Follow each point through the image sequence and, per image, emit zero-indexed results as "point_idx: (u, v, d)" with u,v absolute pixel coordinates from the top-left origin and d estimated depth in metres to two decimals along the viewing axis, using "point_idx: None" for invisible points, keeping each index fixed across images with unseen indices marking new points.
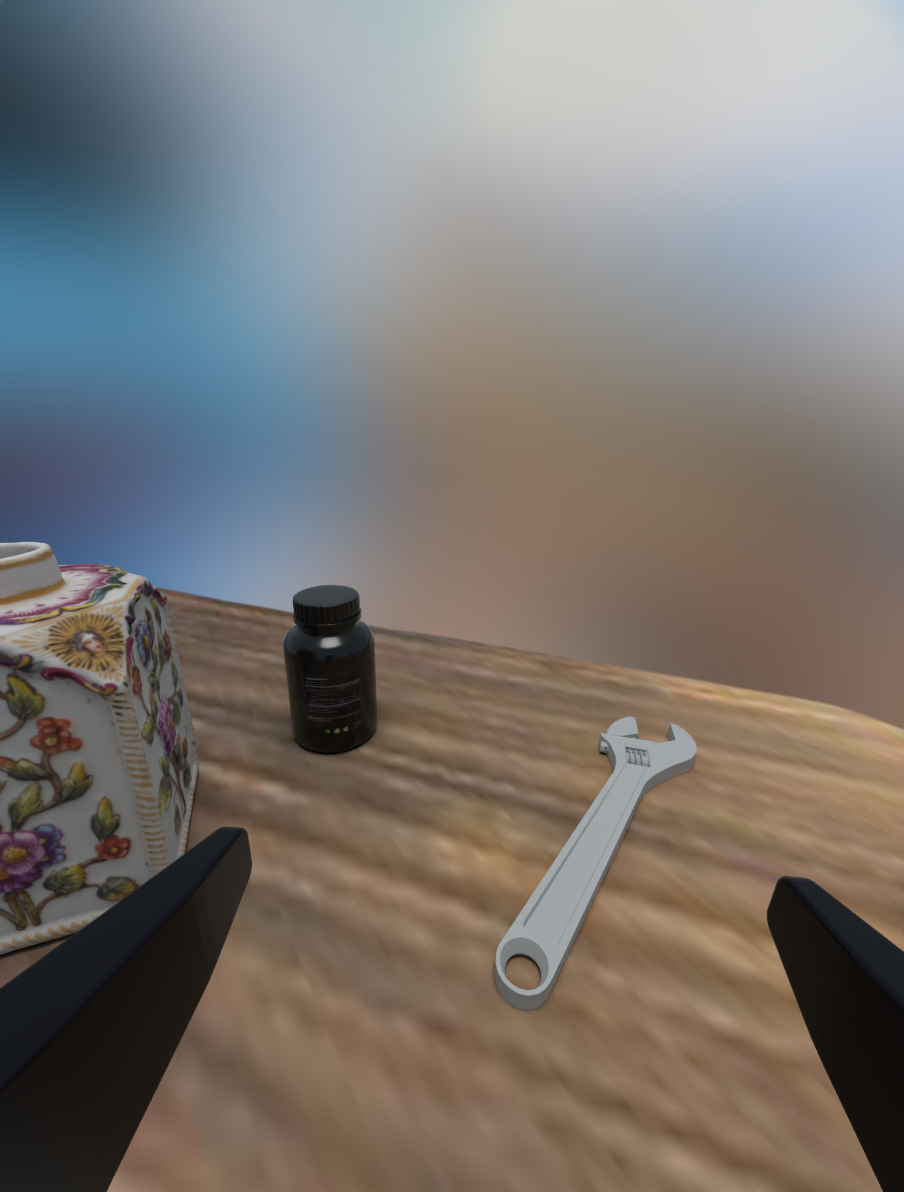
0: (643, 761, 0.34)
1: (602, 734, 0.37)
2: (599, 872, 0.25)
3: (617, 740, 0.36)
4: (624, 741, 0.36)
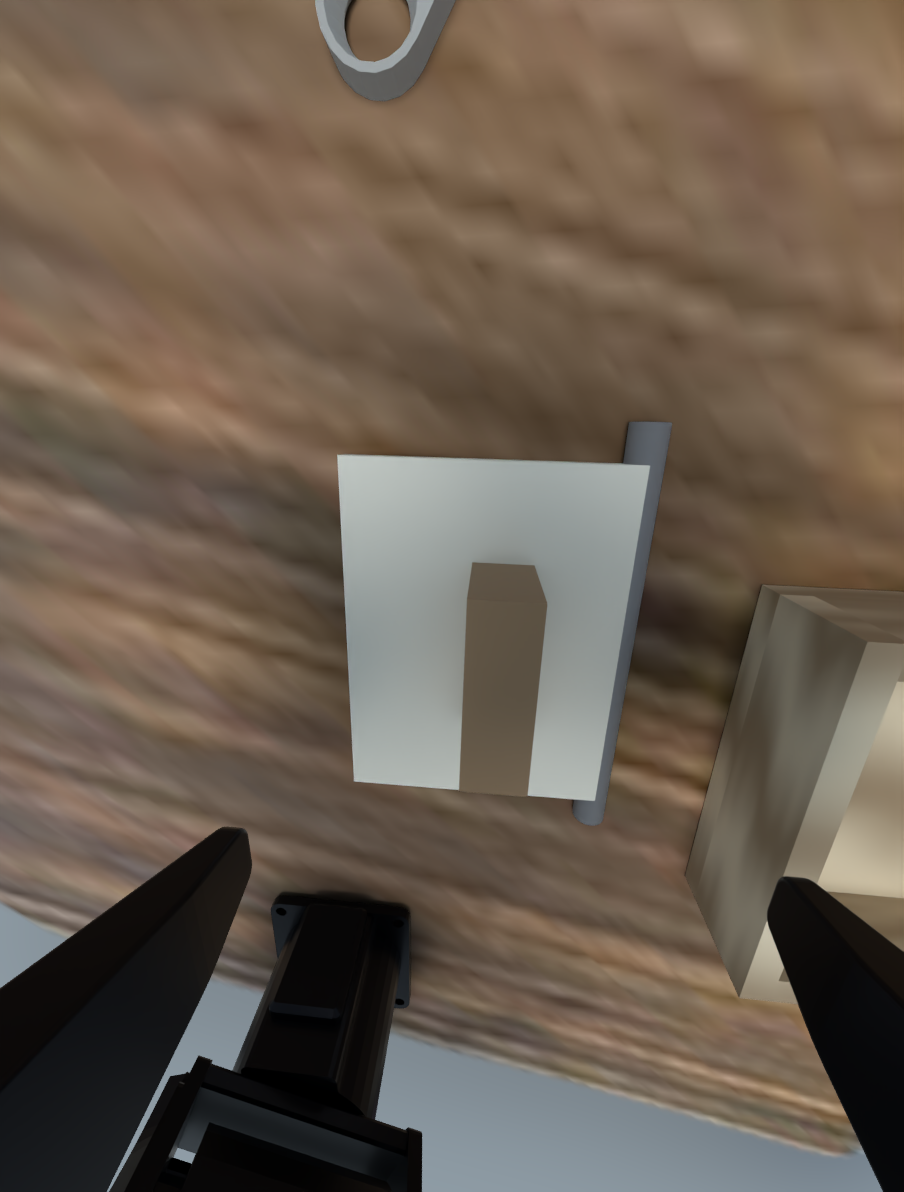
0: None
1: None
2: None
3: None
4: None
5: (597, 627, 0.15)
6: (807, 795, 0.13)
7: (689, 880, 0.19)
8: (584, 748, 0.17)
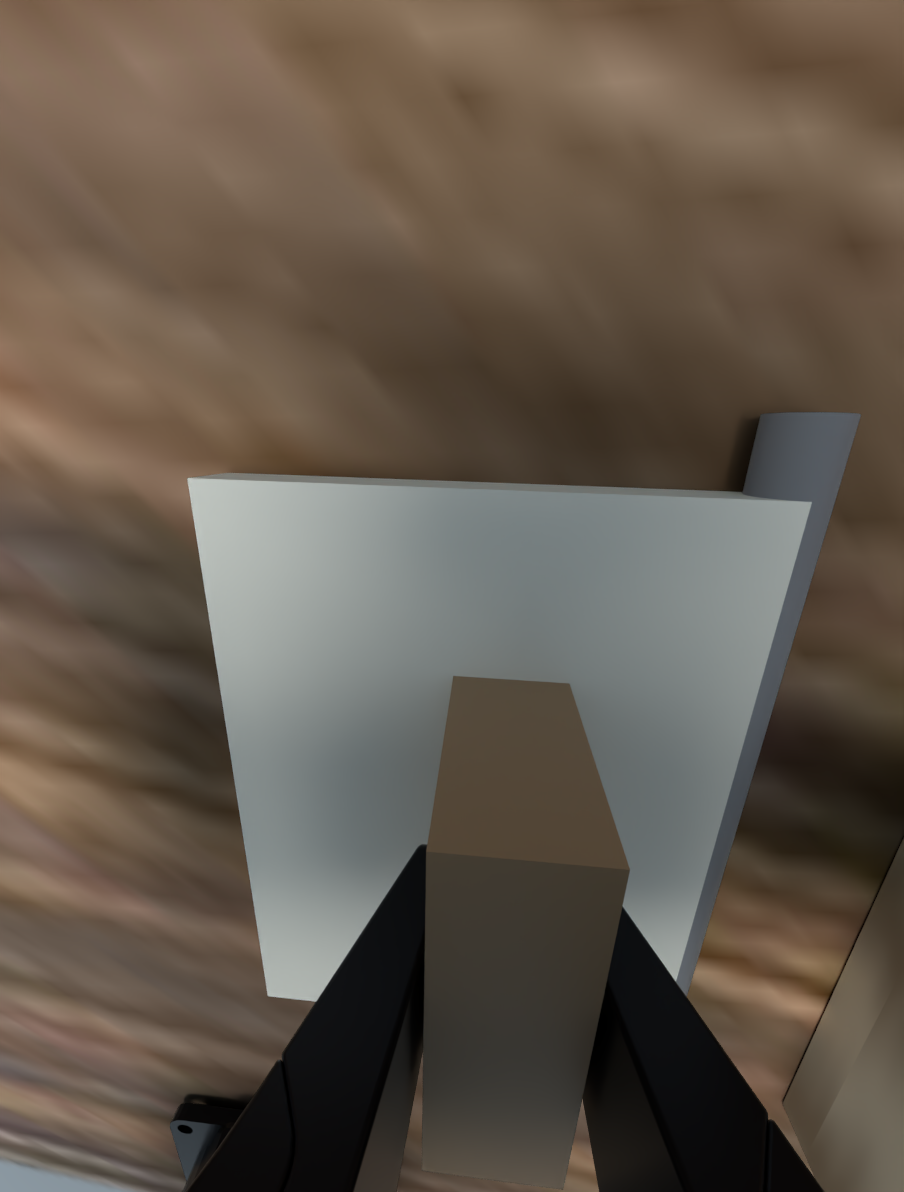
0: None
1: None
2: None
3: None
4: None
5: (681, 789, 0.08)
6: None
7: (792, 1118, 0.12)
8: None
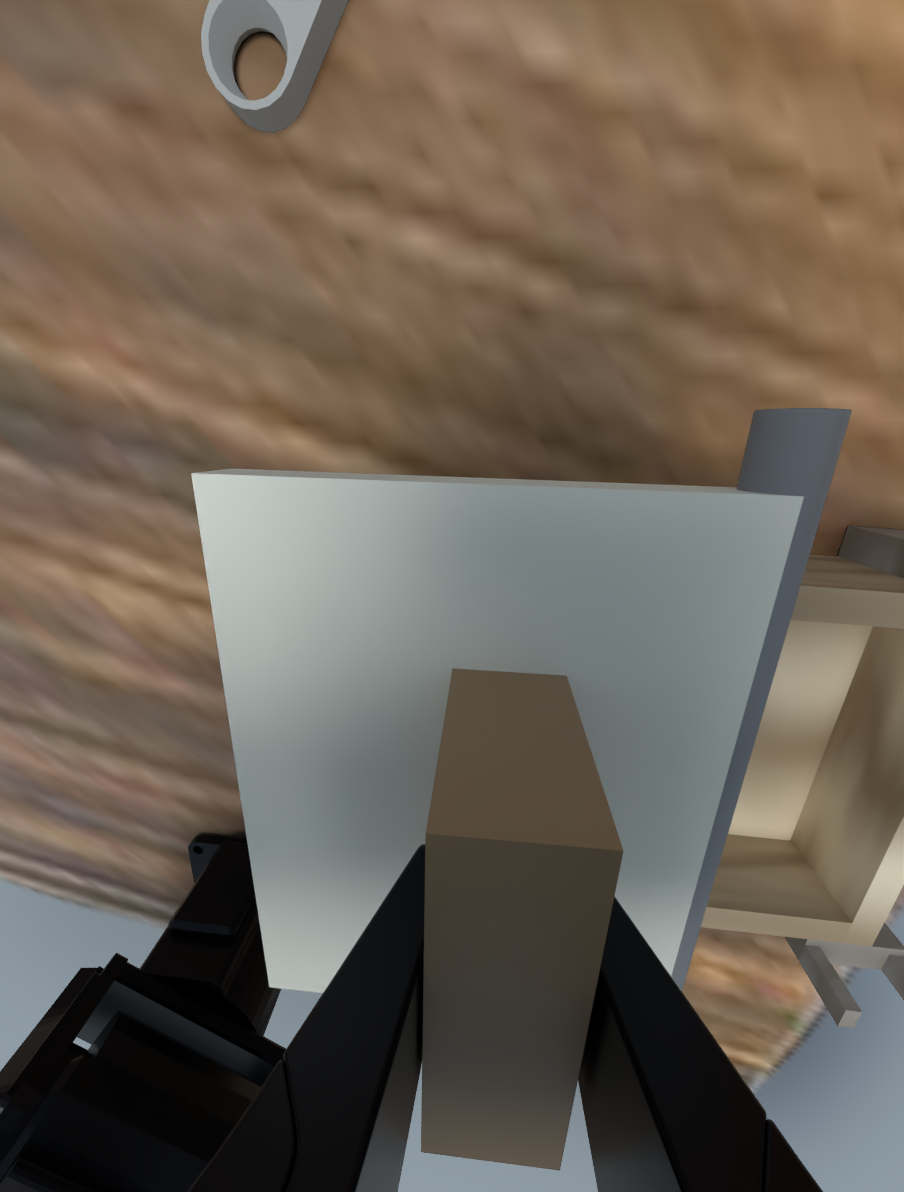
0: None
1: None
2: None
3: None
4: None
5: (678, 781, 0.09)
6: None
7: None
8: None
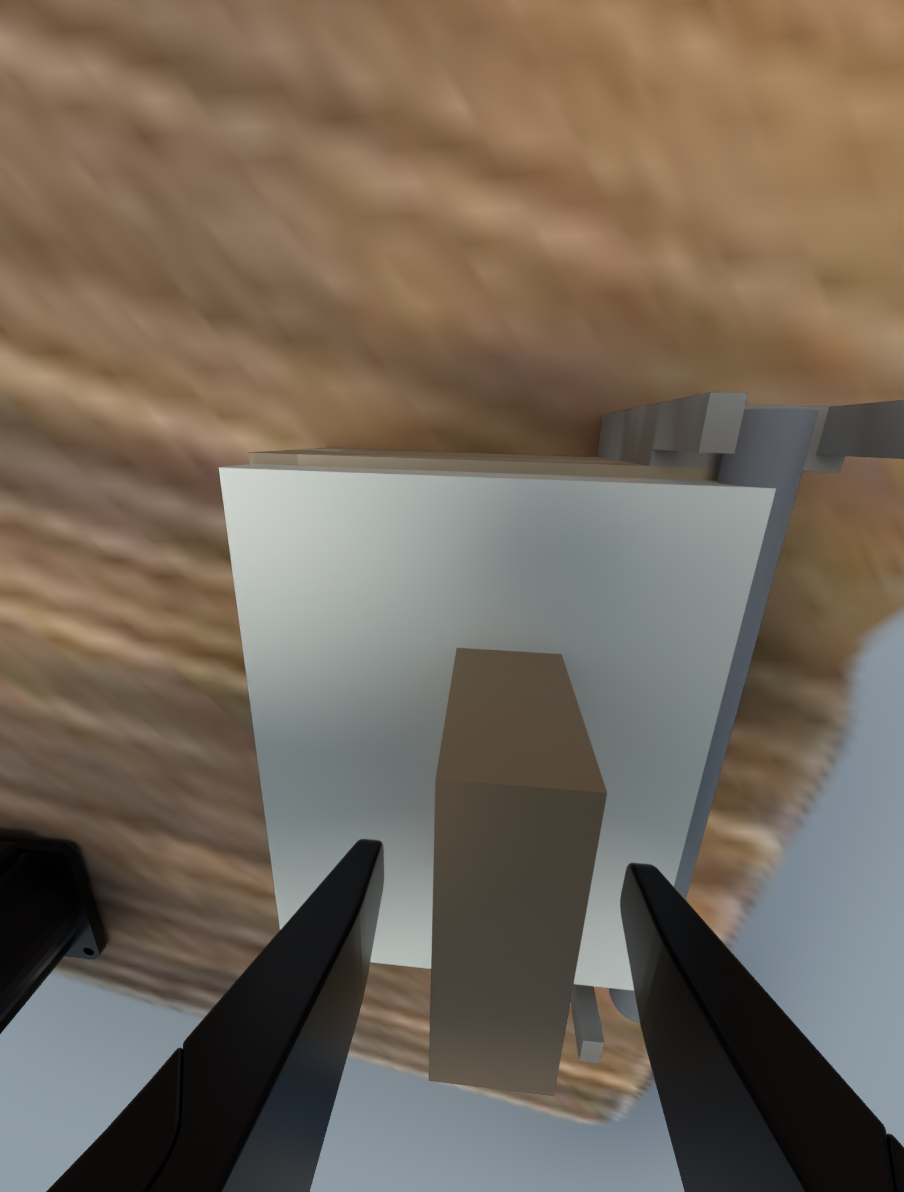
0: None
1: None
2: None
3: None
4: None
5: (664, 752, 0.09)
6: None
7: None
8: None
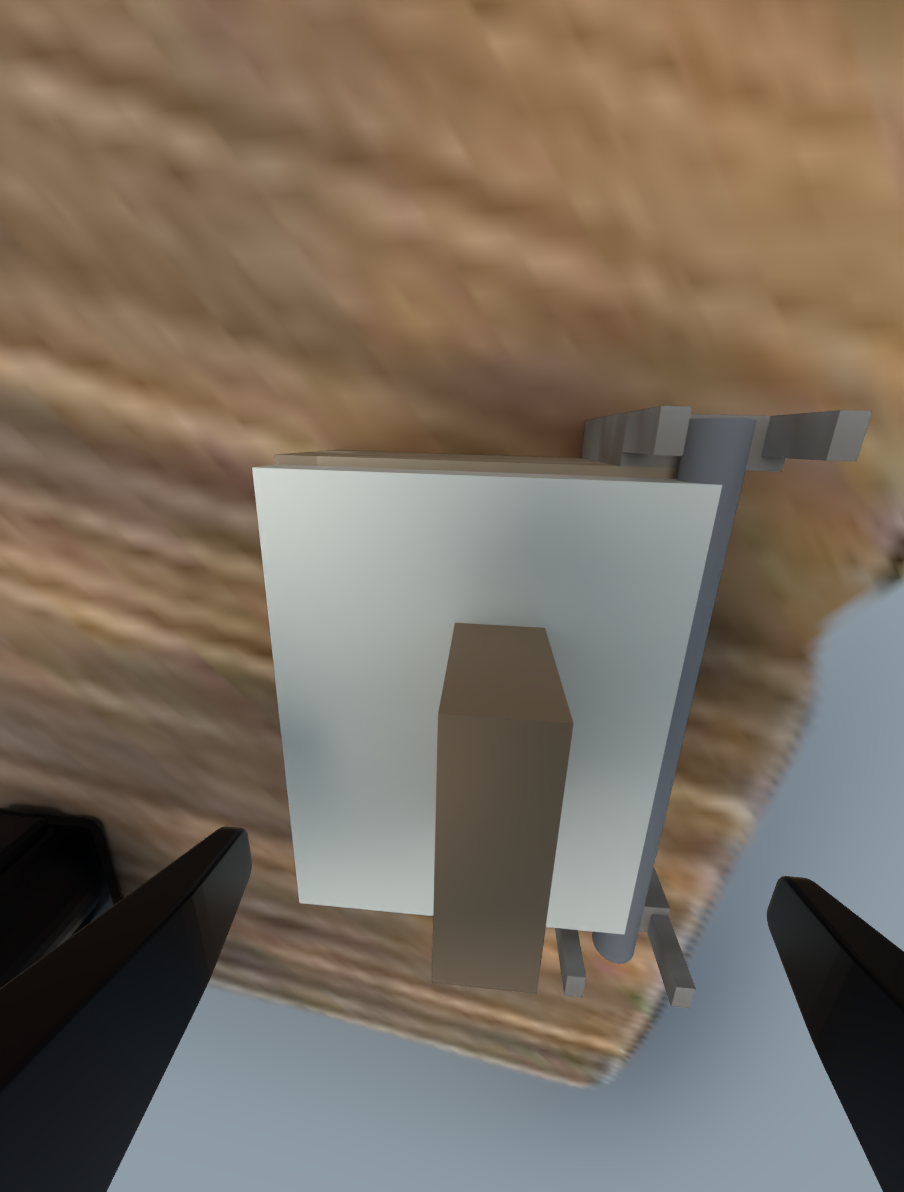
0: None
1: None
2: None
3: None
4: None
5: (634, 714, 0.11)
6: None
7: None
8: (612, 869, 0.12)
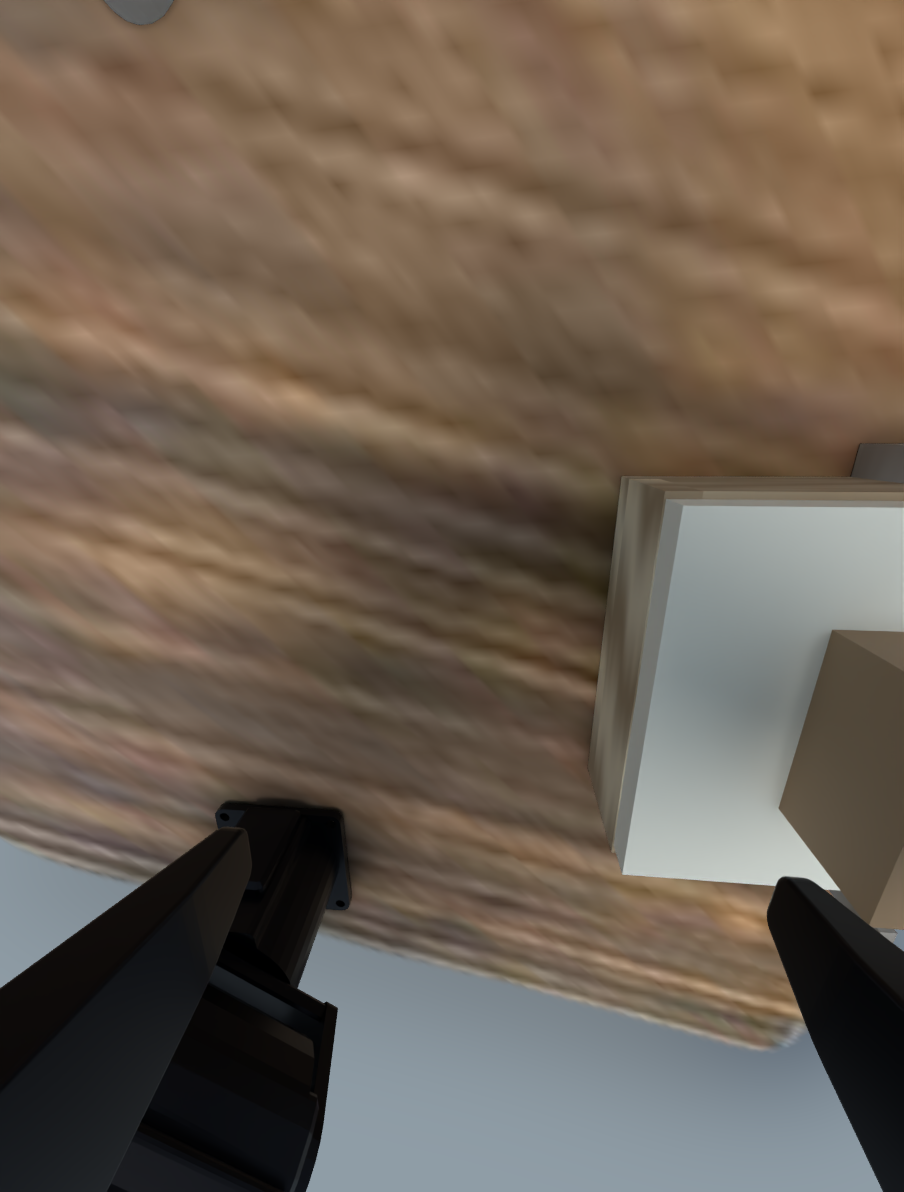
0: None
1: None
2: None
3: None
4: None
5: None
6: (640, 646, 0.14)
7: (589, 770, 0.21)
8: None
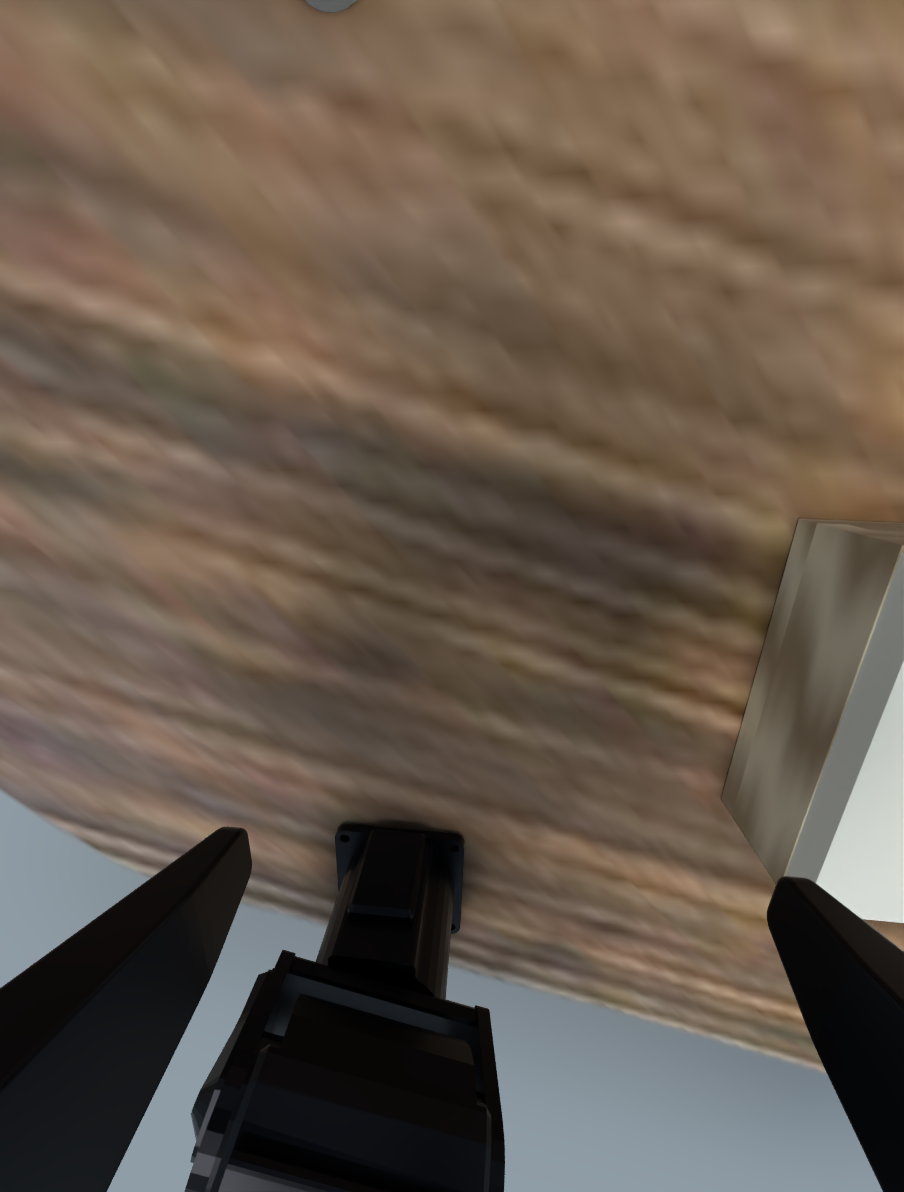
0: None
1: None
2: None
3: None
4: None
5: None
6: (845, 691, 0.14)
7: (725, 801, 0.21)
8: None
